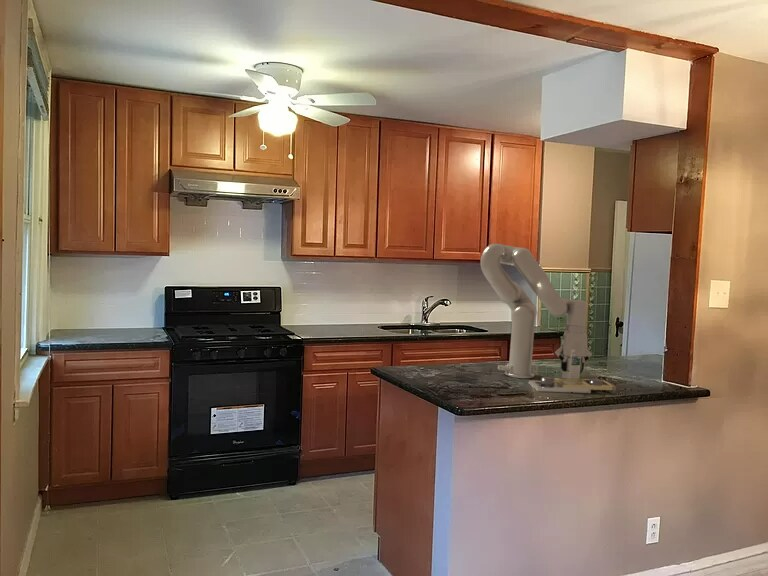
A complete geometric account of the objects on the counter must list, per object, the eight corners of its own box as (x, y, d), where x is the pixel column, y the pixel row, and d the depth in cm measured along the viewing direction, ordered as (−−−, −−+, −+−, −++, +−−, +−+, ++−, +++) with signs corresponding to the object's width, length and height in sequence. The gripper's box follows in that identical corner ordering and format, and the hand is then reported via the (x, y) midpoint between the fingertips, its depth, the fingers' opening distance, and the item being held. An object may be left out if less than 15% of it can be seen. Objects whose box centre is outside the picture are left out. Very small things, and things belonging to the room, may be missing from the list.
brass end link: (562, 392, 242) (563, 382, 242) (552, 384, 254) (553, 375, 253) (615, 394, 244) (616, 384, 244) (602, 386, 255) (603, 377, 255)
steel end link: (537, 391, 241) (538, 381, 241) (528, 384, 253) (529, 374, 252) (590, 393, 243) (591, 383, 243) (579, 385, 254) (580, 376, 254)
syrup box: (569, 383, 258) (572, 349, 257) (561, 380, 264) (564, 346, 262) (581, 383, 260) (583, 349, 258) (572, 379, 265) (575, 346, 264)
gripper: (558, 329, 255) (555, 372, 257) (599, 331, 257) (595, 373, 258) (552, 327, 263) (549, 368, 264) (591, 328, 264) (588, 369, 266)
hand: (572, 370), depth 261 cm, fingers closed on syrup box, 6 cm apart
